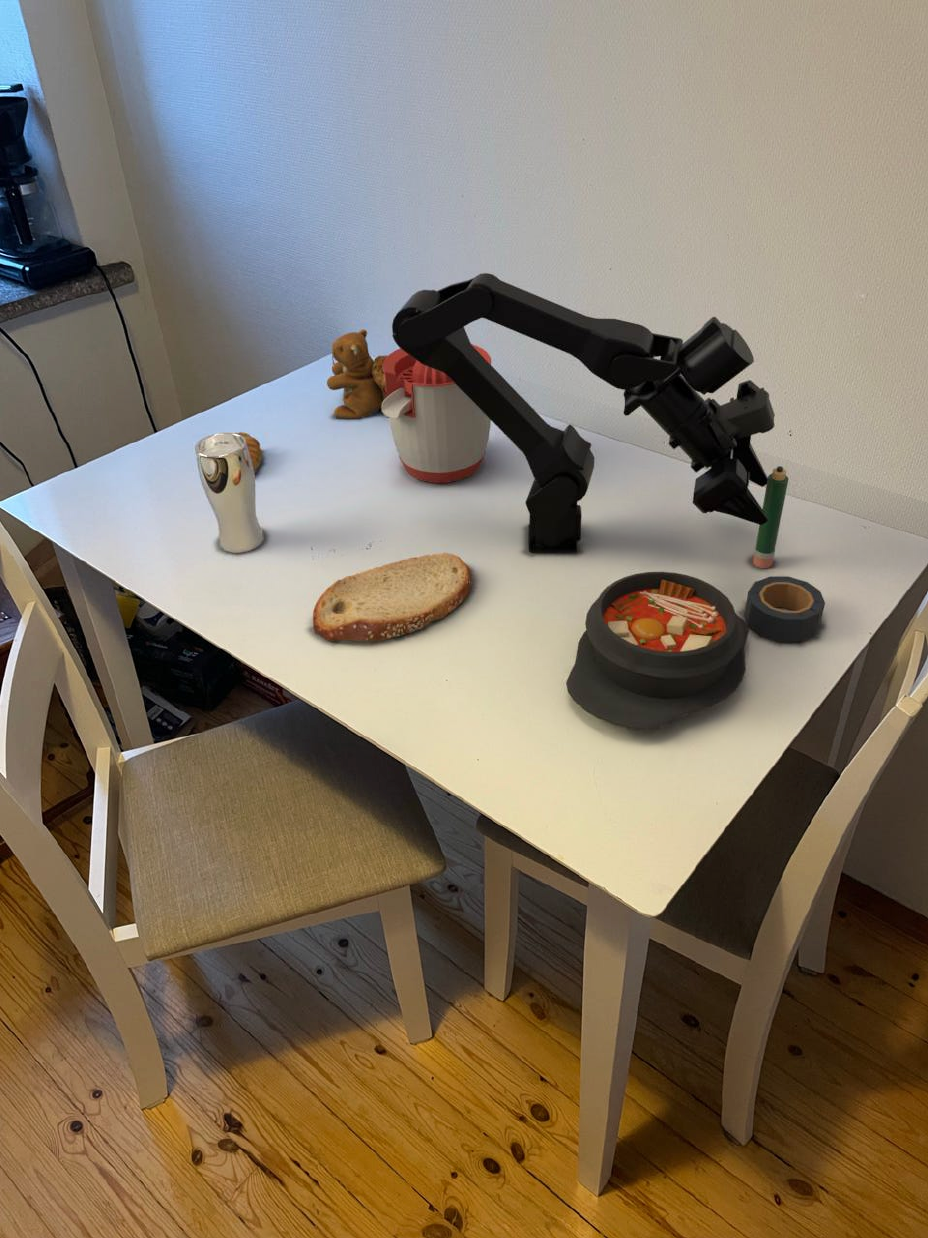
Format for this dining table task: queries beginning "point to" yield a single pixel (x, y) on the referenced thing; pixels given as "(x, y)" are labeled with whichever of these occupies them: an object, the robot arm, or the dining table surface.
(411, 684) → the dining table surface
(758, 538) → the pencil
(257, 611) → the dining table surface
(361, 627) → the slice of bread
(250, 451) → the pastry
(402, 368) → the citrus juicer
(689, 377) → the robot arm
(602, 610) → the casserole
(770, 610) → the tape roll
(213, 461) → the beer glass
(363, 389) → the stuffed squirrel
